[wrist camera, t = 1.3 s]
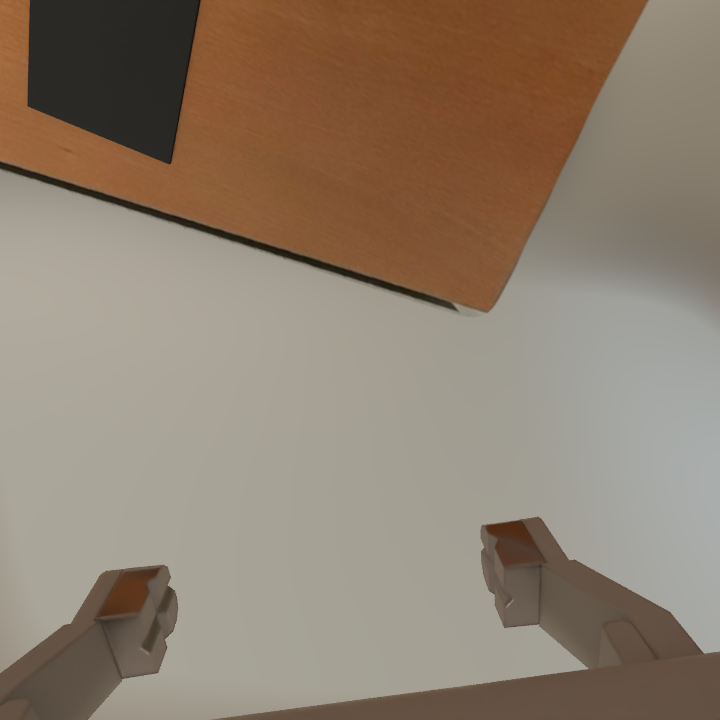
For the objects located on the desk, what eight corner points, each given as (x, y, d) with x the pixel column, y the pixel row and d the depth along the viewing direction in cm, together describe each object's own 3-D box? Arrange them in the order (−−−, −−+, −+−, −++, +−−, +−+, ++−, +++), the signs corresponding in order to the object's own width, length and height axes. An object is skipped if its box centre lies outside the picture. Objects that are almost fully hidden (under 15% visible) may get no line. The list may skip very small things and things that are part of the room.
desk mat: (36, -163, 37) (33, -165, 37) (213, -73, 40) (212, -74, 39) (29, 105, 47) (27, 106, 47) (170, 163, 50) (169, 164, 50)
